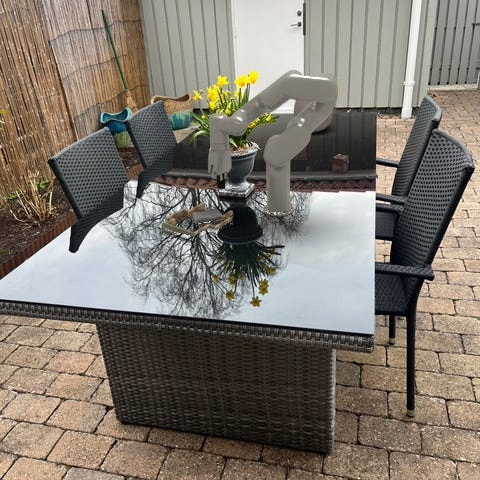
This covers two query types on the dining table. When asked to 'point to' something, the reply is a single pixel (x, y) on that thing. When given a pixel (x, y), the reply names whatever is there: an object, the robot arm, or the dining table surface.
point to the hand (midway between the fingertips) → (221, 188)
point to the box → (340, 163)
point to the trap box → (185, 214)
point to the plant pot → (302, 104)
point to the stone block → (206, 217)
